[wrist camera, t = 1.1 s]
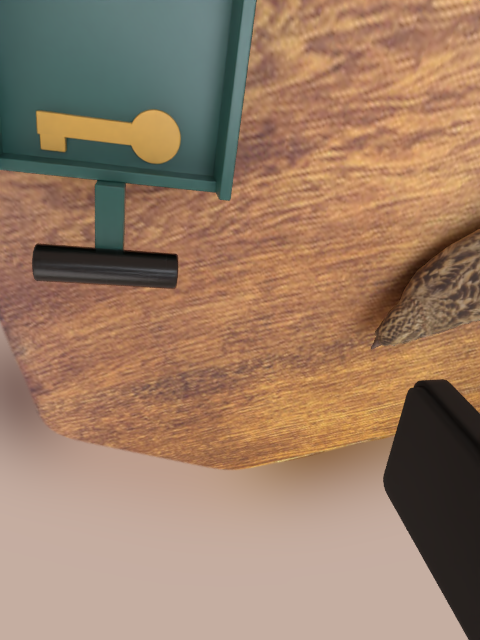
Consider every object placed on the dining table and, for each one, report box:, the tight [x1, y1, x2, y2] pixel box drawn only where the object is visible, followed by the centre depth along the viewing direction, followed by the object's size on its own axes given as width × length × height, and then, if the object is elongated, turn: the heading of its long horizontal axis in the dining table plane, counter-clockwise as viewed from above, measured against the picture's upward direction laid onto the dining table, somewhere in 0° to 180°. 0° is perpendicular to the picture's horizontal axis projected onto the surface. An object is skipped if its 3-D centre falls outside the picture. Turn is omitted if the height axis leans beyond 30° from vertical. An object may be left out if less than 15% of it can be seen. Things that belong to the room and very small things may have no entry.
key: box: [36, 109, 181, 164], centre depth 20 cm, size 6×2×1 cm, turn 82°
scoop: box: [0, 0, 257, 289], centre depth 17 cm, size 19×10×4 cm, turn 172°
